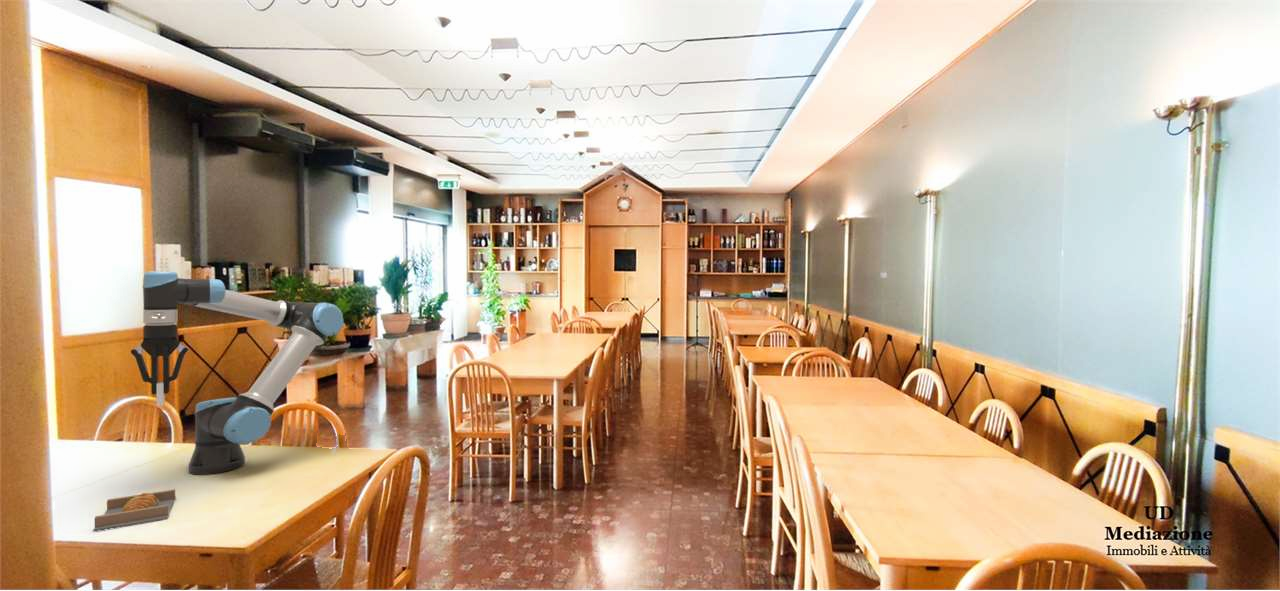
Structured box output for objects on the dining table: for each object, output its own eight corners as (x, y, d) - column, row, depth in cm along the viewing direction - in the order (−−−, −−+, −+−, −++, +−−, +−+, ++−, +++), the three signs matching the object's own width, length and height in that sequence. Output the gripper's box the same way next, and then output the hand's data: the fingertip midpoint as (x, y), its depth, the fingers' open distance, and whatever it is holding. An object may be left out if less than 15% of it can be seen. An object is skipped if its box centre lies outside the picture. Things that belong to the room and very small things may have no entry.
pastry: (149, 516, 144) (149, 501, 144) (115, 521, 141) (115, 506, 141) (160, 503, 153) (159, 490, 152) (127, 508, 149) (127, 494, 149)
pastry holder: (175, 498, 158) (175, 487, 158) (167, 519, 144) (167, 507, 144) (109, 509, 150) (109, 497, 150) (93, 532, 136) (93, 519, 136)
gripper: (127, 325, 153) (127, 410, 153) (188, 324, 160) (188, 405, 161) (132, 324, 159) (132, 405, 159) (190, 322, 167) (190, 400, 167)
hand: (160, 405), depth 160 cm, fingers closed
